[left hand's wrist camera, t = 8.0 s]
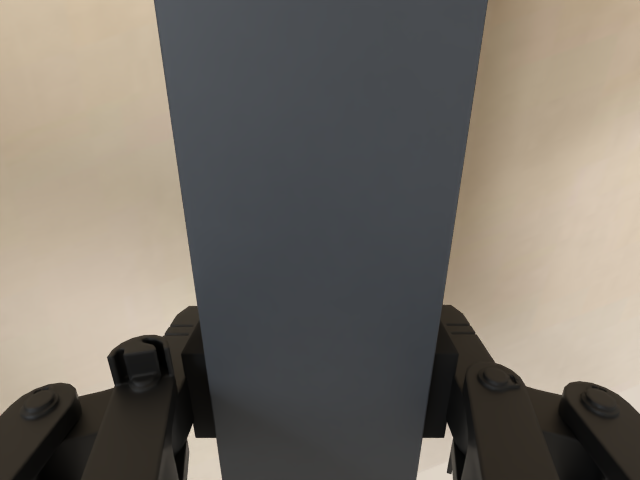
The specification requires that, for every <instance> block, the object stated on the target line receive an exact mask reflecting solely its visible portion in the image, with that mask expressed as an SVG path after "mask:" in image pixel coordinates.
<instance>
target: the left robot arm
mask: <svg viewBox="0 0 640 480" xmlns="http://www.w3.org/2000/svg"><path fill="white" fill-rule="evenodd" d="M107 359H108V362H109V366H110V370H111V373H112V377H113V381H114V384H115V387H114V388H112V389H108V390H105V391H101V392H97V393H92V394H88V395H84V396H79V397H78V395H77V392H76V389H75V388H74V387H73V386H72V385H71V384H66V383H55V384H48V385H46V386H43V387H40V388H37V389H34V390H33V391H31V392H29V393H27V394H25V395H23V396H22V397H20V398H19V399H18V400H17V401H15V402H14V403H13V404H12V405H11V406H10V407H9V408H8V409H7V410H6V411H5V412H4V413H3V414H2V415H1V416H0V480H187V473H188V461H189V447H188V442H187V437H188V434H189V432H190V429H191V427H192V424H193V426H194V431H195V437H196V438H216V432H215V425H214V418H213V411H212V404H211V397H210V390H209V383H208V376H207V369H206V362H205V355H204V348H203V341H202V334H201V327H200V320H199V313H198V306H188V307H187V308H186V309H184V310H183V311H182V312H180V313H179V314H178V315H177V316H176V317H175V319H174V320H173V322H172V323H171V325H170V327H169V328H168V329H167V331H166V333H165V336H163V337H161V336H157V335H143V336H139V337H135V338H132V339H130V340H127V341H125V342H123V343H121V344H120V345H118V346H117V347H116V348H114V349H113V350H112V351H111V353H110V354H109V355H108V357H107ZM447 423H448V426H449V428H450V431H451V433H452V436H453V442H452V447H451V452H450V458H449V463H448V469H447V473H449V474H451V473H452V472H453V480H640V414H639V413H638V412H637V411H636V410H635V409H634V408H633V407H632V406H631V405H630V404H629V403H628V402H627V401H626V400H624V399H623V398H622V397H621V396H619V395H618V394H616V393H614V392H612V391H611V390H609V389H607V388H605V387H602V386H599V385H596V384H593V383H588V382H581V381H578V382H571V383H569V384H568V385H567V386H565V388H564V391H563V394H562V395H558V394H554V393H550V392H545V391H541V390H536V389H533V388H530V387H526V386H525V384H524V382H523V381H522V379H521V378H520V377H519V376H518V375H517V374H516V373H514V372H513V371H512V370H510V369H508V368H507V367H505V366H503V365H500V364H497V363H495V362H494V360H493V359H492V357H491V356H490V354H489V353H488V351H487V350H486V348H485V347H484V345H483V344H482V342H481V340H480V339H479V337H478V336H477V335H475V331H474V330H473V328H472V327H471V326H470V324H469V322H468V321H467V319H466V318H465V316H464V315H463V313H461V312H460V311H458V310H457V309H456V308H454V307H453V306H452V305H442V310H441V317H440V324H439V330H438V337H437V344H436V350H435V357H434V364H433V370H432V377H431V384H430V391H429V397H428V404H427V411H426V417H425V424H424V431H423V437H422V438H444V436H445V430H446V424H447Z"/></svg>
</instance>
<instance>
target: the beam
mask: <svg viewBox="0 0 640 480" xmlns="http://www.w3.org/2000/svg"><path fill="white" fill-rule="evenodd" d="M487 3H488V0H154V4H155V11H156V18H157V25H158V32H159V39H160V46H161V53H162V60H163V67H164V74H165V81H166V88H167V95H168V102H169V109H170V116H171V123H172V130H173V137H174V144H175V151H176V158H177V166H178V173H179V180H180V187H181V194H182V201H183V208H184V215H185V222H186V229H187V236H188V243H189V250H190V257H191V264H192V271H193V278H194V285H195V292H196V299H197V306H198V313H199V320H200V327H201V334H202V341H203V348H204V355H205V362H206V369H207V376H208V383H209V390H210V397H211V404H212V411H213V418H214V425H215V432H216V439H217V446H218V453H219V460H220V467H221V474H222V480H416V477H417V471H418V464H419V457H420V451H421V444H422V437H423V431H424V424H425V417H426V411H427V404H428V397H429V391H430V384H431V377H432V370H433V364H434V357H435V350H436V344H437V337H438V330H439V324H440V317H441V310H442V304H443V297H444V290H445V284H446V277H447V270H448V264H449V257H450V250H451V243H452V237H453V230H454V223H455V217H456V210H457V203H458V197H459V190H460V183H461V177H462V170H463V163H464V157H465V150H466V143H467V137H468V130H469V123H470V117H471V110H472V103H473V96H474V90H475V83H476V76H477V70H478V63H479V56H480V50H481V43H482V36H483V30H484V23H485V16H486V10H487Z"/></svg>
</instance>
